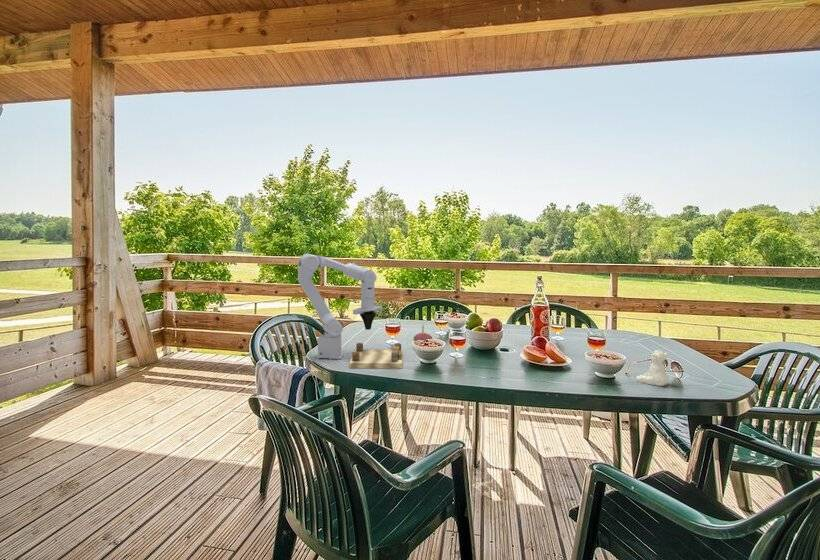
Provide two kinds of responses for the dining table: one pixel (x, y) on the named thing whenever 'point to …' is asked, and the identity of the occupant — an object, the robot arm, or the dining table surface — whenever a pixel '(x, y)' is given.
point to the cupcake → (422, 335)
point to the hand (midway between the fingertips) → (368, 329)
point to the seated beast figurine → (655, 370)
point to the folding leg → (395, 353)
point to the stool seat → (375, 358)
